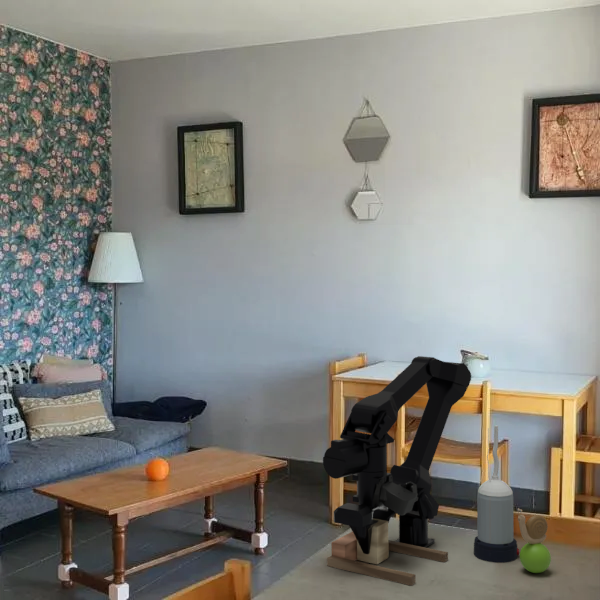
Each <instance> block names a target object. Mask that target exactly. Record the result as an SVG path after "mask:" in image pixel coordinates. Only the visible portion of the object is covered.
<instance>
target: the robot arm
mask: <svg viewBox="0 0 600 600" xmlns="http://www.w3.org/2000/svg"><path fill="white" fill-rule="evenodd" d="M471 381H472V373H471V371H470V370H469V367H468V366H467V365H466V364H465V363H461V362H453V361H451V362H450V361H444V360H440V359H438V358H435V357H432V356H422V355H421V356H417V357H414V358H413V359H412V360H411V363H410V364H409V365H408V366H407V367H406V368H405V369H404V370H402V372H400V373H399V374H398V375H397V376H396V377H395V378H394V379H393V380H391V382H389V383H388V384H387V385H386V386H385V387H384V388H383V389H382V390H381V391H379V392H377V393H375V394H371V395H368V396H365V397H364V398H362V399H360V400H359V401H357V402H356V403H355V404H354V405H353V406H352V408H351V412H350V414H349V417H348V418H347V420H346V422H345V425H344V427H343V429H342V432H341V433H340V435H339V439H331V441H330V447H328V448H327V449H326V450H325V452H324V455H323V456H322V457H323V458H322V463H323V468H324V470H325V473H326V474H327V475H328V476H329V477H330V478H333V479H342V478H345V477H348V476H352V477H351V478H352V479H351V480H353V481H356V494H354V495H352V502H353V503H351V502H350V503H349V502H346V503H344V504H342V505H339V506H337V508H335V509H334V510H333V522H334V523H335V524H340V525H346V526H349V528H350V529H351V532H352V531H353V533H354V535H355V537H356V539H357V541H358V543H359V545H360V547H361V549H362V551H363V553H364V554H369V552H370V546H371V534H372V527H373V526H374V525H375V524H376V523H377V522H378V520H373V518H374V519H379V520H385V521H388V524H389V522H390V520H391V518H392V517H394V515H397V516H398V515H399V516H398V535H399V536H398V538H397V539H395V540H394V541H395V542H400V543H405V544H410V545H415V546H420V547H425V548H428V547H430V546H431V545H433V544H434V543H436V540H435V538H429V520H433V519H435V517H437V515H438V512H439V506H440V504H439V502H437V501H436V499H435V498H434V497H433V496H432V495H431V490H432V487H433V486H432V485H433V484H432V479H431V475H430V468H431V467H432V463H433V460H434V457H435V454H436V452H437V448H438V446H439V443H440V440H441V438H442V436H443V432H444V429H445V427H446V423H447V420H448V417H449V415H450V413H451V410H452V407H453V406H454V405H455V404H456V403H458V401H460V400H461V399H462V398H463V397H464V396H465V394H466V391H467V390H468V388H469V386H470V383H471ZM425 385H426V389H427V395H428V400H427V402H426V405H425V407H424V410H423V413H422V415H421V418H420V421H419V423H418V426H417V430H416V432H415V435H414V437H413V440H412V442H411V445H410V448H409V450H408V452H407V456H406V459H405V461H404V462H403V463H401V464H400V465H397V464H394V465H392V467H391V469H390V472H388V466H387V465H388V461H387V459H388V458H387V457H388V452H387V451H388V450H387V445H388V444H393V443H394V442H395V438H393V436H391V435H390V434H389V433H388V432H390V430H391V429H392V427H393V425H394V424H395V423H396V422H397V420H398V416H399V415H398V414H399V410H400V409H401V408H402V407H403V406H404V405H406V403H407V402H408V401H409V400H411V399H412V398H413V397H414V395H416V394H417V393H418V392H419V391H420V389H422V388H423V387H424V386H425ZM356 503H357V504H356Z"/></svg>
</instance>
